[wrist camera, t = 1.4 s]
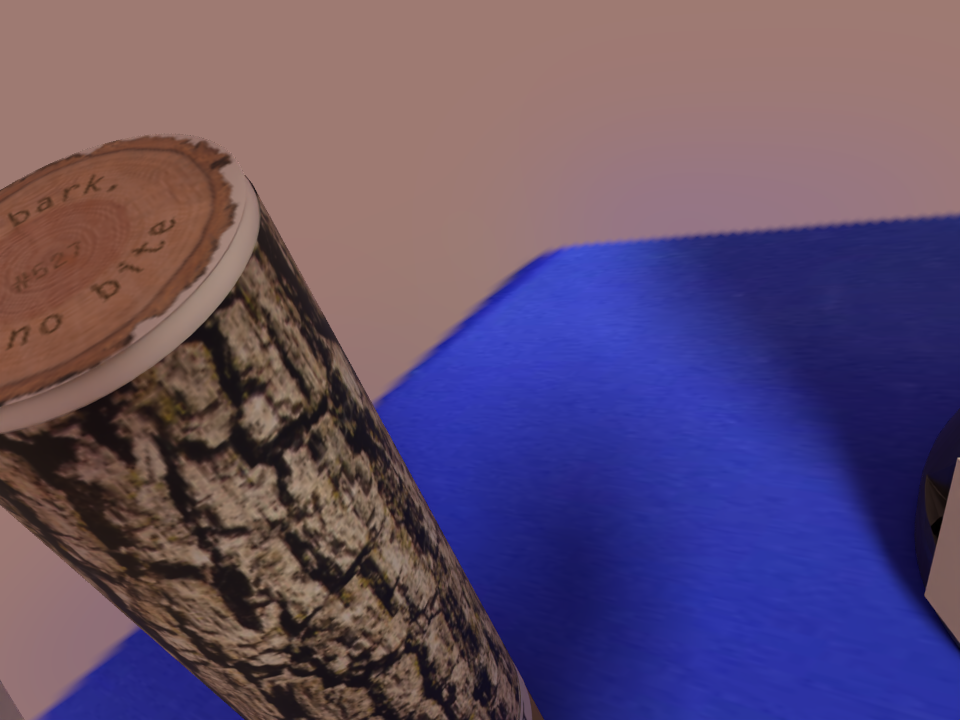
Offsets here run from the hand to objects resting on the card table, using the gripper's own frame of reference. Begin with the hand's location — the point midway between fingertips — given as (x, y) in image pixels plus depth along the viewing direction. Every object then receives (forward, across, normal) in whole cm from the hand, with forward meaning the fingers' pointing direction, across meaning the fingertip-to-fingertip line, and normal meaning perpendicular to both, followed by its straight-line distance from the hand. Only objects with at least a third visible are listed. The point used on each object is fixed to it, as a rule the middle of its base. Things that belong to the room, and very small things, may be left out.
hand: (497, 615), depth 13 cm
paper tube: (+11, -1, -21) cm, 23 cm away
